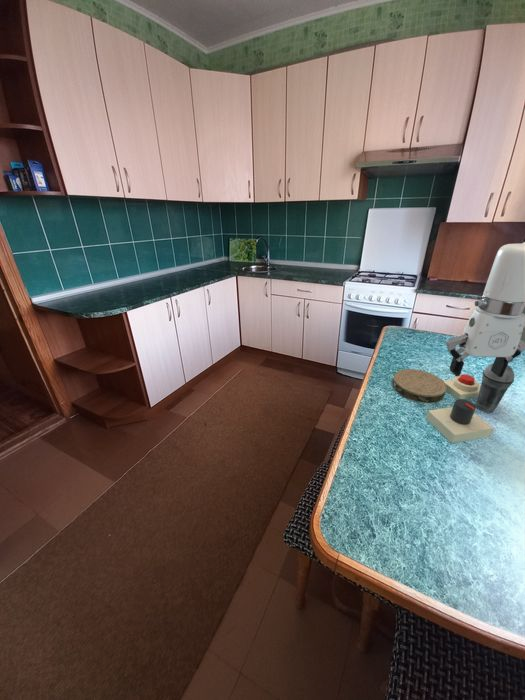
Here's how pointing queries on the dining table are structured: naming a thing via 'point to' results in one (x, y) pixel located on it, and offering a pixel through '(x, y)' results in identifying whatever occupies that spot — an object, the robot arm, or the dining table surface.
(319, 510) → the dining table surface
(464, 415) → the timer dial
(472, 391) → the block
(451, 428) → the panel
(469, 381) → the power button
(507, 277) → the robot arm
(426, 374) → the brown cork coaster
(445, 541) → the dining table surface
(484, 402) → the beverage cup
